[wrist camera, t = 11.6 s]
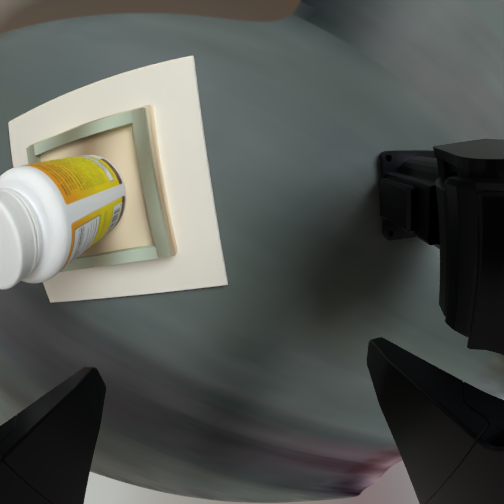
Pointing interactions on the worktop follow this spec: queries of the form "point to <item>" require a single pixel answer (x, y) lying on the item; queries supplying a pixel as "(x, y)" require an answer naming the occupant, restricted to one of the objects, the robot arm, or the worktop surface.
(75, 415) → the robot arm
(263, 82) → the worktop surface
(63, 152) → the square wooden tray
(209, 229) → the cream square board
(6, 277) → the supplement bottle
